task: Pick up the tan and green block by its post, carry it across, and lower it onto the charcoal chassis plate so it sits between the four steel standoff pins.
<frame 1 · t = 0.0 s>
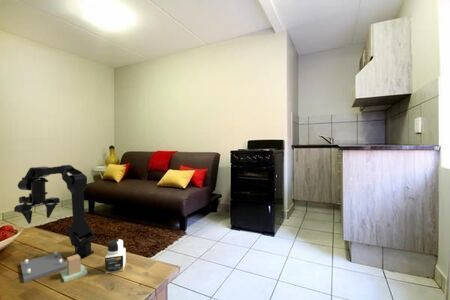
hand: (39, 220, 115), 15 cm above the table, fingers open, 9 cm apart
standoff plate: (43, 266, 98), on the table
medicine bottle: (115, 268, 97), on the table
tan and green block: (73, 274, 93), on the table
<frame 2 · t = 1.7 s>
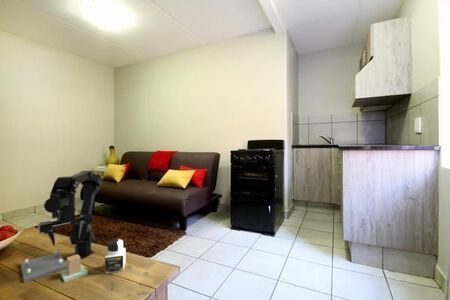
hand: (67, 242, 95), 12 cm above the table, fingers open, 9 cm apart
nothing on the table moved.
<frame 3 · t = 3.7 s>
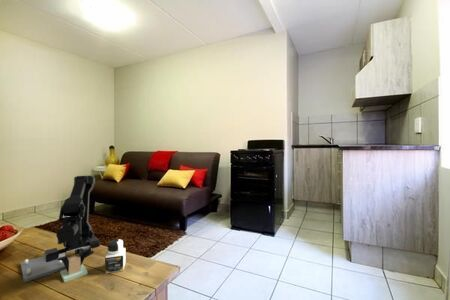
hand: (73, 268, 93), 2 cm above the table, fingers closed on tan and green block, 4 cm apart
tan and green block: (73, 273, 93), on the table, touching gripper
everything else where it was.
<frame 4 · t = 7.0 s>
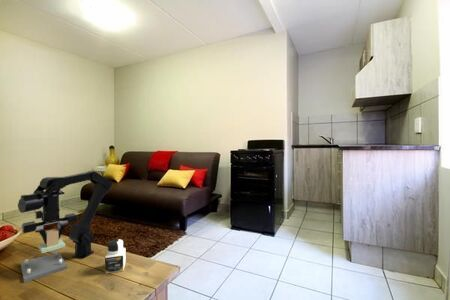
hand: (51, 241, 96), 12 cm above the table, fingers closed on tan and green block, 4 cm apart
tan and green block: (52, 246, 96), point 10 cm above the table, touching gripper
everything else where it was.
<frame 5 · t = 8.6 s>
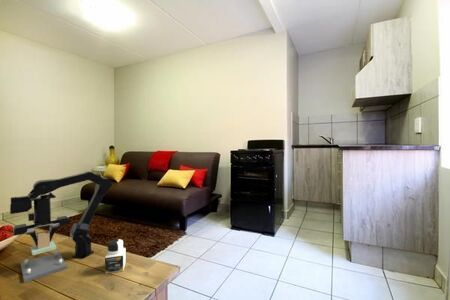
hand: (43, 243, 98), 10 cm above the table, fingers closed on tan and green block, 4 cm apart
tan and green block: (43, 248, 98), point 8 cm above the table, touching gripper
everything else where it was.
when the fingers open (5 cm above the table, at t = 10.1 s): tan and green block drops 1 cm, resting on standoff plate.
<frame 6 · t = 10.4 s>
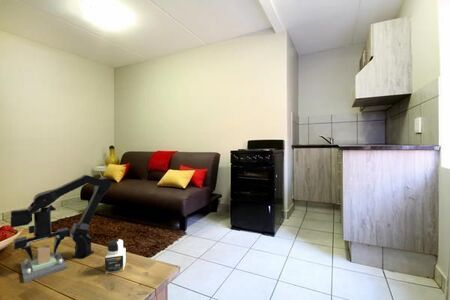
hand: (43, 256, 98), 5 cm above the table, fingers open, 7 cm apart
tan and green block: (43, 264, 98), point 1 cm above the table, touching standoff plate
everything else where it was.
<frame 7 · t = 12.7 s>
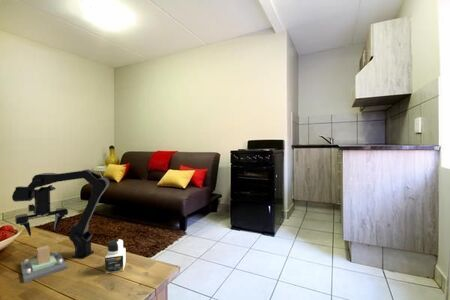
hand: (43, 233, 104), 13 cm above the table, fingers open, 9 cm apart
nothing on the table moved.
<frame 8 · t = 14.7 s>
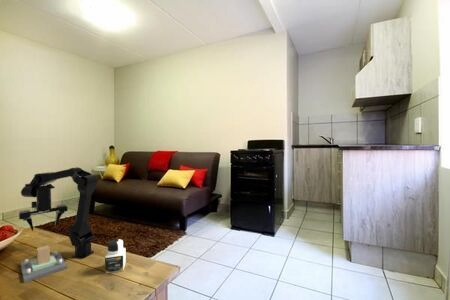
hand: (44, 228, 112), 12 cm above the table, fingers open, 9 cm apart
nothing on the table moved.
at the end: tan and green block 0.1 cm off-centre on the standoff plate, point 1.2 cm above the standoff plate's base; tan and green block tilted 0°; the gripper is holding nothing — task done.
